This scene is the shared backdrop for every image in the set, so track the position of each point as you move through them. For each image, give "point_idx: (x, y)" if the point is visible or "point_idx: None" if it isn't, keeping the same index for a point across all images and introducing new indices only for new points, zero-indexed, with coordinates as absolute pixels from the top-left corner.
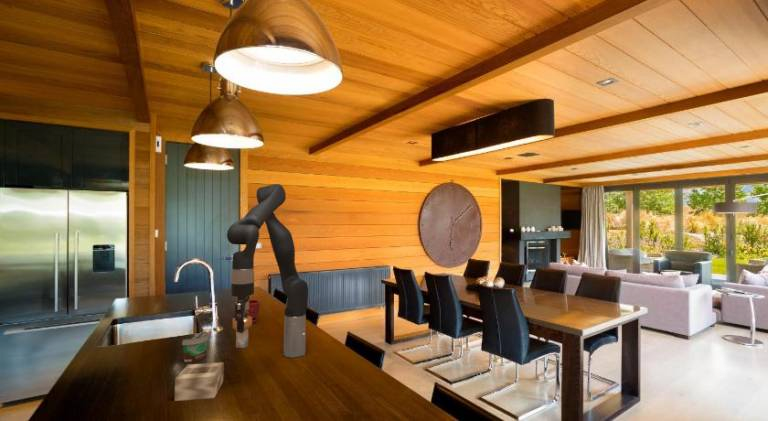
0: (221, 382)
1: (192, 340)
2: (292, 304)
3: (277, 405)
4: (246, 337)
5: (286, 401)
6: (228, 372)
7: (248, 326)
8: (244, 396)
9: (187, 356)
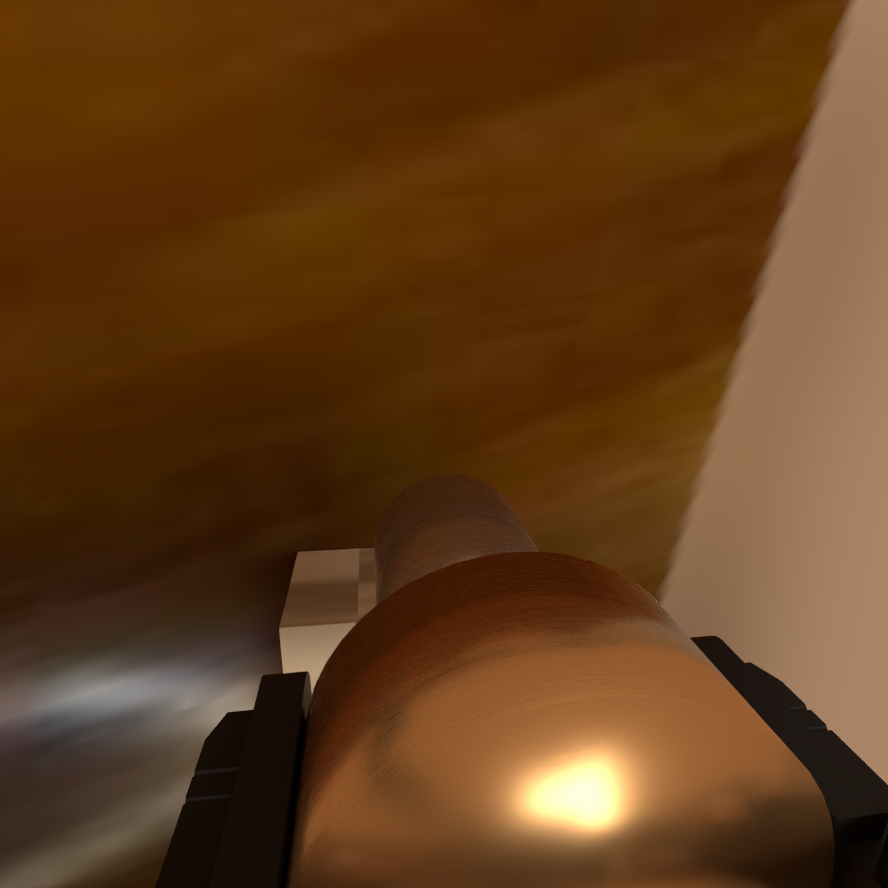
0: (343, 556)
1: None
2: None
3: (705, 139)
4: (521, 539)
5: (670, 75)
6: (132, 560)
7: (663, 612)
8: (533, 373)
9: None
